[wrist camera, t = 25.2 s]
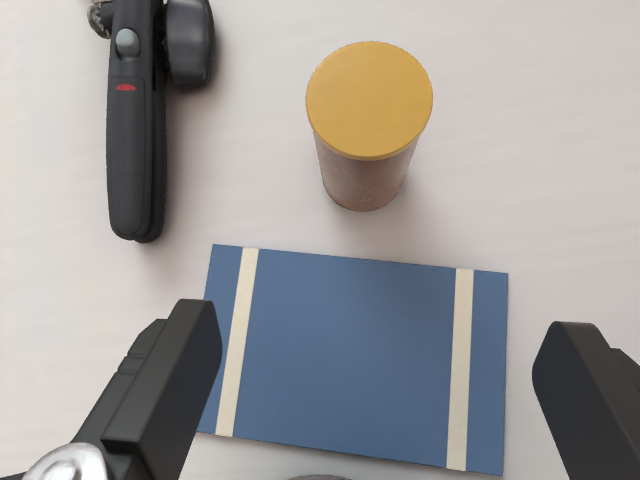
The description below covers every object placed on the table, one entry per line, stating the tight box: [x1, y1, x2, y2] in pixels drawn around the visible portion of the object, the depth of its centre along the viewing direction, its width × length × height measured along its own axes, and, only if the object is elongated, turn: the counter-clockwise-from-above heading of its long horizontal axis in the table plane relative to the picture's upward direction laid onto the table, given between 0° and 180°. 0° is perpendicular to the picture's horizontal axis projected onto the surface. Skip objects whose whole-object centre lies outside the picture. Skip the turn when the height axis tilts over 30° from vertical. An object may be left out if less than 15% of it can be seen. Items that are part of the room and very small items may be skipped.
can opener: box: [87, 0, 215, 243], centre depth 25 cm, size 18×7×6 cm, turn 177°
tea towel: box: [196, 244, 508, 476], centre depth 24 cm, size 18×11×1 cm, turn 84°
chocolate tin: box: [306, 41, 433, 211], centre depth 21 cm, size 5×5×9 cm
